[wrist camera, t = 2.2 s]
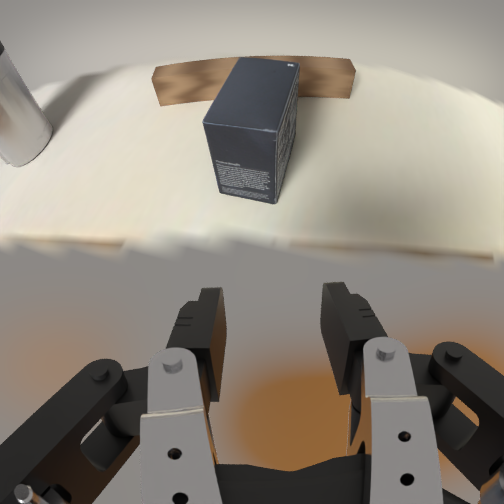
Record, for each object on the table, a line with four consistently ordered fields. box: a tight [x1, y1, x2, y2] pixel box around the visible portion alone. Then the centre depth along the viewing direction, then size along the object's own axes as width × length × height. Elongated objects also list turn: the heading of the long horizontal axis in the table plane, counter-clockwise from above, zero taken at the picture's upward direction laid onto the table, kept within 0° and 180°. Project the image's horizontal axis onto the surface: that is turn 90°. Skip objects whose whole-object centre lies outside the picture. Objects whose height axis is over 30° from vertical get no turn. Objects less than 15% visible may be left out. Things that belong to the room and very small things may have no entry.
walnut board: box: [152, 56, 356, 106], centre depth 36 cm, size 26×3×5 cm, turn 92°
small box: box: [202, 57, 300, 204], centre depth 28 cm, size 11×6×10 cm, turn 165°
